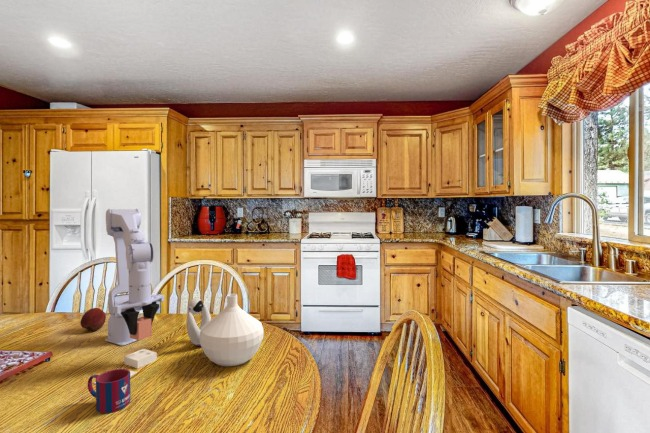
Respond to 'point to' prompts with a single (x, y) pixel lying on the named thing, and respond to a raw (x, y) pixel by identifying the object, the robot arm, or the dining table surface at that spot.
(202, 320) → the toy
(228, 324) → the vase
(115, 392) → the mug
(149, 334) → the red brick
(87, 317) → the apple
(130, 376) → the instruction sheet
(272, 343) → the dining table surface
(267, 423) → the dining table surface
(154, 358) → the base brick
